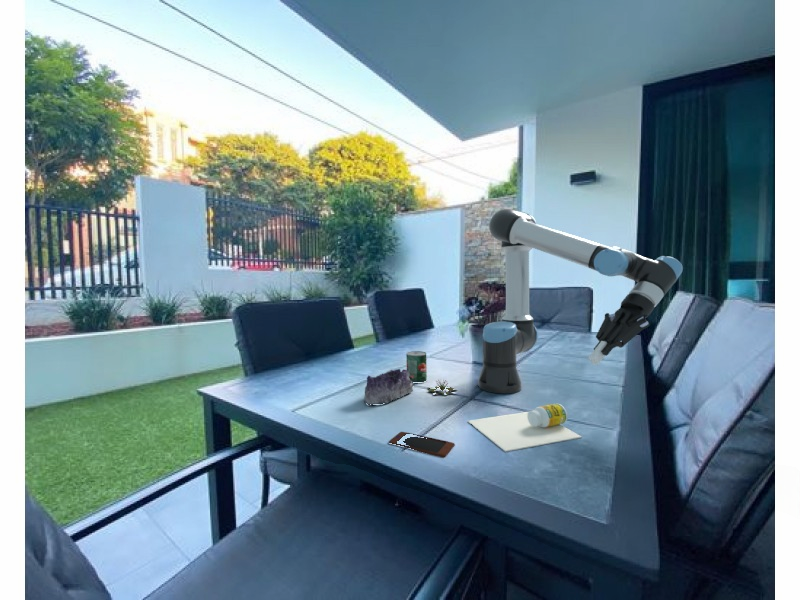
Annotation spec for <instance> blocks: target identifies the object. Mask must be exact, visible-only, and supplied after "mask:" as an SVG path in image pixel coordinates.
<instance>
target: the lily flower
mask: <svg viewBox="0 0 800 600" xmlns="http://www.w3.org/2000/svg"><path fill="white" fill-rule="evenodd" d="M448 384H449V383H448V381H447V379H445V380H444V379H443V381H441V380H439V379H437V380H436V386H434V387H435V388H436V389H437V388H439V387H440V389H441V390H442V391H441V390H440V391H441V392H442V393H441V392H440V391H438V393H439V394H441V395H443V396H445V395H444V392H443V390H444V389H445V387H446V386H447V387H448ZM437 386H439V387H437ZM436 389H429V388H428V390H427V391H431V392H432V393H433V392H436V391H434V390H436ZM446 389H448V390H449V391H454V390H453V389H455V388H454V387H452V386H451V387H450V388H446ZM449 391H448V392H446V391H445V392H446V394H447V396H448V395H450V394H449V393H450V392H449Z"/></svg>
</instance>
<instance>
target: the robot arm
mask: <svg viewBox="0 0 800 600" xmlns="http://www.w3.org/2000/svg"><path fill="white" fill-rule="evenodd" d="M488 227H489V233H490V235H492V237H493V238H494V239H496V240H497V241H500V242H501V250H503V252H504V253H505V314H504V315H503V316H502V318H501V321H495V322H493V321H492V322H490V323H486V324H485V325H484V327H483V330H482V331H483V332H482V368H481V369H480V370H481V371H480V373H479V376H478V379H477V380H478V381H477V384H478V385H477V386H479V387H478V388H479V389H481V390H483V391H484V392H488V393H495V394H504V395H505V394H514V393H518V392H520V391H521V390H522V381H521V380H522V379H521V378H520V374H519V371H518V369H517V355H518V354H521V353H526V352H528V351H530V350H532V349H533V348H534V347H535V346H536V345H537V344H538V341H539V331H538V328H537V327H536V326H535V325H534V324H535V323H534V318H533V316H532V315H531V314H530V251H531V250H532V249H535V250H537V251H540V252H543V253H546V254H549V255H552V256H555V257H557V258H560V259H563V260H566V261H568V262H570V263H571V262H572V263H575V264H576V265H580V266H582V267H584V268H585V267H586V268H589V269H590V270H593V271H595V272H598V273H599V274H600V275H602V276H603V275H604V276H607V277H616V276H617V277H618V276H621V277H625V278H627V279H629V280H632V281H635V282H636V283H635V285H634V286H633V287H632V288H631V290H630V291H629V293H628V294H626V296H625V297H624V298H623V300H622V301H621V303H620V307H619V309H617V310H615V312H614V313H611V314H610V313H608V312H606V313H605V314H604V320H603V321H602V323H601V325H600V327H599V329H598V331H597V333H596V335H595V338H596V339H597V340H598V343H597V344H596V345H595V347H593V351H592V352H591V353H590V355H589V356H588V357H587V359H588V360H589V361H590V362H591V363H592V364H593V365H594V366H595V365H596V366H598V365H599V364H600V363H601V361H602V360H603V359H604V358H605V356H608V355H609V354H610V353H611V351H612V350H613V349H615V348H616V347H617V348H619V349H620V348H623V347H625V345H627V344H628V343H629V342H631V340H633V338H635V337H636V336H637V335H638V334H640V333H641V332H642V331H643V330H645V329H647V328H649V327H650V326H651V325H650V323H649V321H648V320H647V319H646V318H648V317H649V316H650V314H651V313H652V312H653V311H654V310H655V307H657V305H659V303H660V302H661V300H662V299H663V297H665V295H666V294H667V293H668V292H669V290H671V288H673V286H674V284H676V282H677V281H678V279H679V277H680V276H681V274H682V273H683V269H684V267H683V265H682V263H681V262H680V261H679V260H678V259H677V258H674V257H672V256H665V255H661V256H659V257H657V258H656V259H654V260H653V259H652V258H649V257H645V256H642V255H640V254H638V253H635V252H633V251H630V250H627V249H625V248H623V247H619V246H608V245H606V244H600V243H597V242H594V241H591V240H588V239H585V238H582V237H579V236H576V235H573V234H569V233H567V232H562V231H560V230H556V229H552V228H549V227H547V226H544V225H540V224H538V222H537V220H536V218H535V217H534V216H532V215H531V214H529V213H526V212H524V211H519V210H518V211H517V210H513V209H510V208H506V209H501V210H498V211H496V212H495V213H494V214H493V215H492V217H491V218H490V221H489V226H488Z"/></svg>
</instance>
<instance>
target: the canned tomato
mask: <svg viewBox="0 0 800 600" xmlns="http://www.w3.org/2000/svg"><path fill="white" fill-rule="evenodd" d="M427 366H428V365H427V352H426V351H420V350H413V351H412V350H411V351H408V352H406V370H408V371H409V373H410V375H409V378H410V380H411V381H412V382H424V381H426V380H427V377H428V376H427V369H428V368H427ZM427 381H428V380H427ZM427 381H426V382H427Z"/></svg>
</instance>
